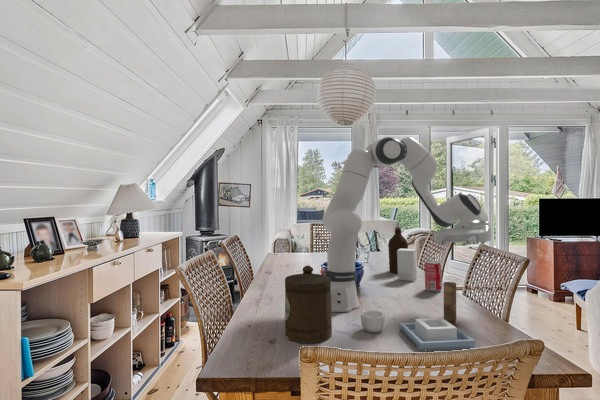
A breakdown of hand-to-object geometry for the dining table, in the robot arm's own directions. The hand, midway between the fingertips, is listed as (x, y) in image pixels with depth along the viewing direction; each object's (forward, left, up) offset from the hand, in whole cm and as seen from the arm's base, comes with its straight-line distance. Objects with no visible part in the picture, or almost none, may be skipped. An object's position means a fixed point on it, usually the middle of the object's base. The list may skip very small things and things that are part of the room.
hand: (454, 242), depth 138 cm
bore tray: (-18, -22, -26) cm, 39 cm away
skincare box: (+3, +53, -26) cm, 59 cm away
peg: (-7, -10, -26) cm, 29 cm away
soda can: (+7, +32, -26) cm, 42 cm away
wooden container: (-56, -13, -27) cm, 64 cm away
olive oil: (+5, +71, -26) cm, 76 cm away
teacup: (-34, -11, -27) cm, 45 cm away
